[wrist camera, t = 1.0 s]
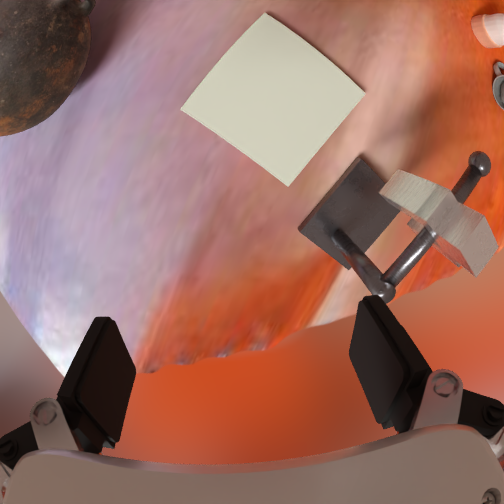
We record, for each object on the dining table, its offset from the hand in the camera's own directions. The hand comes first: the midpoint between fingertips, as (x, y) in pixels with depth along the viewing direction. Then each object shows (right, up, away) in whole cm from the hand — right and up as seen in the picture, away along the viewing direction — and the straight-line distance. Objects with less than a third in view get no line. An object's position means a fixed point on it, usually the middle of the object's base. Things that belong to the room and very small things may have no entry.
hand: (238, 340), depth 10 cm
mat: (+4, +24, +24) cm, 34 cm away
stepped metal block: (+20, +10, +22) cm, 31 cm away
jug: (-30, +32, +18) cm, 47 cm away
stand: (+19, +12, +30) cm, 38 cm away
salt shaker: (+46, +46, +17) cm, 67 cm away
